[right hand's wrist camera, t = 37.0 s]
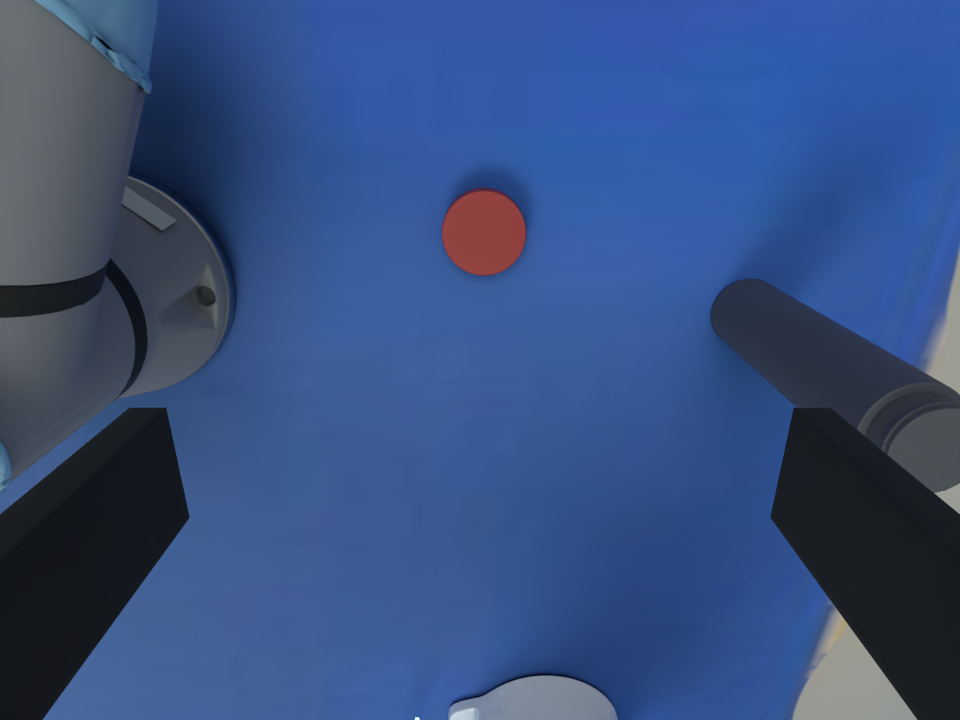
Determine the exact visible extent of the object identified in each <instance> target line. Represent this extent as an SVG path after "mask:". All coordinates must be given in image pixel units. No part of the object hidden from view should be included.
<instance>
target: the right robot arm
mask: <svg viewBox="0 0 960 720" xmlns="http://www.w3.org/2000/svg"><path fill="white" fill-rule="evenodd" d="M157 16H158V0H0V494H1V493H2V492H4V491H5V490H6V489H5V488H6V487H7V486H9V483H10V482H11V481H13V480H14V479H15V478H16V477H18V476H19V475H20V474H21V473H23V472H24V471H25V470H27V469H28V468H29V467H30V466H32V465H33V464H34V463H36V462H37V461H38V460H39V459H41V458H42V457H43V456H44V455H46V454H47V453H48V452H50V451H51V450H52V449H53V448H55V447H56V446H57V445H59V444H60V443H61V442H62V441H64V440H65V439H66V438H67V437H69V436H70V435H71V434H73V433H74V432H75V431H76V430H78V429H79V428H80V427H81V426H83V425H84V424H85V423H87V422H88V421H89V420H90V419H92V418H93V417H94V416H96V415H97V414H98V413H99V412H101V411H102V410H103V409H104V408H106V407H107V406H108V405H110V404H111V403H112V402H113V401H115V400H116V399H119V398H123V397H128V396H133V395H137V394H142V393H146V392H151V391H155V390H159V389H163V388H166V387H168V386H171V385H173V384H175V383H177V382H180V381H182V380H184V379H185V378H187V377H189V376H191V375H192V374H193V373H195V372H196V371H198V370H199V369H200V368H201V367H202V366H203V365H204V364H205V363H207V362H208V361H209V360H210V359H211V358H212V357H213V356H214V355H215V354H216V353H217V351H218V350H219V349H220V347H221V346H222V344H223V343H224V341H225V339H226V337H227V335H228V333H229V330H230V328H231V325H232V321H233V317H234V310H235V285H234V279H233V274H232V271H231V267H230V264H229V261H228V258H227V256H226V253H225V251H224V249H223V247H222V245H221V243H220V241H219V240H218V238H217V236H216V235H215V233H214V232H213V230H212V229H211V227H210V226H209V225H208V224H207V222H206V221H205V220H204V219H203V217H202V216H201V215H200V214H199V213H198V212H197V211H196V210H195V209H194V208H193V207H192V206H191V205H190V204H188V203H187V202H186V201H185V200H184V199H182V198H181V197H180V196H178V195H177V194H176V193H174V192H173V191H171V190H170V189H168V188H166V187H165V186H163V185H161V184H159V183H157V182H155V181H153V180H151V179H148V178H146V177H143V176H141V175H138V174H134V173H131V172H129V168H130V164H131V159H132V155H133V150H134V146H135V141H136V137H137V132H138V127H139V123H140V118H141V114H142V109H143V105H144V100H145V96H146V94H151V89H152V84H151V80H150V78H149V77H148V73H149V67H150V60H151V54H152V48H153V41H154V35H155V29H156V22H157ZM189 518H190V517H189V513H188V508H187V503H186V499H185V494H184V489H183V485H182V480H181V475H180V471H179V466H178V461H177V457H176V452H175V447H174V442H173V438H172V433H171V428H170V424H169V419H168V414H167V410H166V408H129V409H127V410H126V411H125V412H124V413H123V414H121V415H120V416H119V417H118V418H117V419H115V420H114V421H113V422H112V423H110V424H109V425H108V426H107V427H106V428H104V429H103V430H102V431H101V432H100V433H98V434H97V435H96V436H95V437H94V438H92V439H91V440H90V441H89V442H87V443H86V444H85V445H84V446H83V447H81V448H80V449H79V450H78V451H77V452H75V453H74V454H73V455H72V456H70V457H69V458H68V459H67V460H66V461H64V462H63V463H62V464H61V465H60V466H58V467H57V468H56V469H55V470H54V471H52V472H51V473H50V474H49V475H47V476H46V477H45V478H44V479H43V480H41V481H40V482H39V483H38V484H37V485H35V486H34V487H33V488H32V489H30V490H29V491H28V492H27V493H26V494H24V495H23V496H22V497H21V498H20V499H18V500H17V501H16V502H15V503H14V504H12V505H11V506H10V507H9V508H7V509H6V510H5V511H4V512H3V513H1V514H0V720H43V718H44V717H45V715H46V714H47V713H48V711H49V710H50V709H51V707H52V706H53V704H54V703H55V702H56V700H57V699H58V698H59V696H60V695H61V693H62V692H63V691H64V689H65V688H66V687H67V685H68V684H69V682H70V681H71V680H72V678H73V677H74V676H75V674H76V673H77V672H78V670H79V669H80V667H81V666H82V665H83V663H84V662H85V661H86V659H87V658H88V656H89V655H90V654H91V652H92V651H93V650H94V648H95V647H96V645H97V644H98V643H99V641H100V640H101V639H102V637H103V636H104V634H105V633H106V632H107V630H108V629H109V628H110V626H111V625H112V623H113V622H114V621H115V619H116V618H117V617H118V615H119V614H120V612H121V611H122V610H123V608H124V607H125V606H126V604H127V603H128V601H129V600H130V599H131V597H132V596H133V595H134V593H135V592H136V590H137V589H138V588H139V586H140V585H141V584H142V582H143V581H144V579H145V578H146V577H147V575H148V574H149V573H150V571H151V570H152V568H153V567H154V566H155V564H156V563H157V562H158V560H159V559H160V558H161V556H162V555H163V553H164V552H165V551H166V549H167V548H168V547H169V545H170V544H171V542H172V541H173V540H174V538H175V537H176V536H177V534H178V533H179V531H180V530H181V529H182V527H183V526H184V525H185V523H186V522H187V520H188V519H189ZM770 518H771V519H772V520H773V522H774V523H775V525H776V526H777V527H778V529H779V530H780V531H781V533H782V534H783V536H784V537H785V538H786V540H787V541H788V542H789V544H790V545H791V547H792V548H793V549H794V551H795V552H796V553H797V555H798V556H799V558H800V559H801V560H802V562H803V563H804V564H805V566H806V567H807V568H808V570H809V571H810V573H811V574H812V575H813V577H814V578H815V579H816V581H817V582H818V584H819V585H820V586H821V588H822V589H823V590H824V592H825V593H826V595H827V596H828V597H829V599H830V600H831V601H832V603H833V604H834V606H835V607H836V608H837V610H838V611H839V612H840V614H841V615H842V617H843V618H844V619H845V621H846V622H847V623H848V625H849V626H850V628H851V629H852V630H853V632H854V633H855V634H856V636H857V637H858V639H859V640H860V641H861V643H862V644H863V645H864V647H865V648H866V649H867V651H868V652H869V654H870V655H871V656H872V658H873V659H874V660H875V662H876V663H877V665H878V666H879V667H880V669H881V670H882V671H883V673H884V674H885V676H886V677H887V678H888V680H889V681H890V682H891V684H892V685H893V687H894V688H895V689H896V691H897V692H898V693H899V695H900V696H901V698H902V699H903V700H904V702H905V703H906V704H907V706H908V707H909V709H910V710H911V711H912V713H913V714H914V715H915V717H916V718H917V720H960V514H959V513H957V512H956V511H955V510H954V509H953V508H951V507H950V506H949V505H948V504H946V503H945V502H944V501H943V500H942V499H940V498H939V497H938V496H937V495H936V494H934V493H933V492H932V491H931V490H930V489H928V488H927V487H926V486H925V485H923V484H922V483H921V482H920V481H919V480H917V479H916V478H915V477H914V476H913V475H911V474H910V473H909V472H908V471H906V470H905V469H904V468H903V467H902V466H900V465H899V464H898V463H897V462H896V461H894V460H893V459H892V458H891V457H890V456H888V455H887V454H886V453H885V452H883V451H882V450H881V449H880V448H879V447H877V446H876V445H875V444H874V443H873V442H871V441H870V440H869V439H868V438H866V437H865V436H864V435H863V434H862V433H860V432H859V431H858V430H857V429H856V428H854V427H853V426H852V425H851V424H849V423H848V422H847V421H846V420H845V419H843V418H842V417H841V416H840V415H839V414H837V413H836V412H835V411H834V410H833V409H831V408H794V410H793V414H792V419H791V424H790V428H789V433H788V438H787V442H786V447H785V452H784V457H783V461H782V466H781V471H780V475H779V480H778V485H777V489H776V494H775V499H774V503H773V508H772V513H771V517H770Z"/></svg>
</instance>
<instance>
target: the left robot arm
mask: <svg viewBox="0 0 960 720" xmlns="http://www.w3.org/2000/svg"><path fill="white" fill-rule="evenodd" d="M415 720H419V718H417V717H416V718H415ZM448 720H618V717H617V714H616V711H615V709H614V707H613V706H612V704H611V703H610V701H609V700H608V699H607V698H606V697H605V696H604V695H603V694H602V693H601V692H599V691H598V690H597V689H595V688H593V687H592V686H590V685H588V684H586V683H583V682H581V681H578V680H575V679H571V678H566V677H560V676H532V677H526V678H521V679H517V680H514V681H511V682H508V683H506V684H504V685H501V686H500V687H498V688H496V689H494V690H493V691H491V692H489V693H487V694H485V695H483V696H481V697H478V698H473V699H468V700H464V701H460V702H457V703H455V704H453V705H452V706H451V707H450V709H449V714H448Z"/></svg>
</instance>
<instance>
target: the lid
mask: <svg viewBox="0 0 960 720" xmlns="http://www.w3.org/2000/svg"><path fill="white" fill-rule="evenodd" d="M442 239H443V244H444V247H445V250H446V252H447V254H448V255H449V257H450V258H451V260H452V261H453V262H454V263H455V264H456V265H457V266H458V267H460V268H461V269H463V270H465V271H467V272H469V273H472V274H476V275H492V274H496V273H499V272H501V271H503V270H505V269H507V268H508V267H510V266H511V265H512V264H513V263H514V262H515V261H516V260H517V258H518V257H519V256H520V254H521V252H522V250H523V248H524V244H525V240H526V226H525V222H524V218H523V216H522V214H521V211H520V209H519V208H518V206H517V205H516V203H515V202H514V201H513V200H512V199H511V198H510V197H509V196H507V195H506V194H504V193H503V192H501V191H498V190H495V189H491V188H477V189H473V190H470V191H467V192H465V193H464V194H462V195H460V196H459V197H458V198H457V199H456V200H455V201H454V202H453V203H452V204H451V206H450V207H449V209H448V211H447V214H446V216H445V219H444V222H443V227H442Z"/></svg>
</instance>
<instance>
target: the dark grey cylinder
mask: <svg viewBox="0 0 960 720" xmlns="http://www.w3.org/2000/svg"><path fill="white" fill-rule="evenodd" d="M711 323H712V327H713V329H714V331H715V332H716V334H717V335H718V336H719V337H720V338H721V339H722V340H723V341H724V342H726V343H727V344H728V345H729V346H730V347H731V348H732V349H733V350H734V351H735V352H737V353H738V354H739V355H740V356H741V357H742V358H743V359H744V360H745V361H746V362H748V363H749V364H750V365H751V366H752V367H753V368H754V369H755V370H756V371H757V372H759V373H760V374H761V375H762V376H763V377H764V378H765V379H766V380H767V381H768V382H769V383H771V384H772V385H773V386H774V387H775V388H776V389H777V390H778V391H779V392H780V393H782V394H783V395H784V396H785V397H786V398H787V399H788V400H789V401H790V402H791V403H793V404H794V405H795V406H796V407H797V408H831V409H833V410H834V411H835V412H836V413H837V414H839V415H840V416H841V417H842V418H843V419H845V420H846V421H847V422H848V423H849V424H851V425H852V426H853V427H854V428H856V429H857V430H858V431H859V432H860V433H862V434H863V435H864V436H865V437H866V438H868V439H869V440H870V441H871V442H873V443H874V444H875V445H876V446H877V447H879V448H880V449H881V450H882V451H883V452H885V453H886V454H887V455H888V456H890V457H891V458H892V459H893V460H894V461H896V462H897V463H898V464H899V465H900V466H902V467H903V468H904V469H905V470H906V471H908V472H909V473H910V474H911V475H913V476H914V477H915V478H916V479H917V480H919V481H920V482H921V483H922V484H923V485H925V486H926V487H927V488H928V489H930V490H931V491H932V492H933V493H935V492H940V491H945V490H947V489H949V488H951V487H953V486H955V485H957V484H959V483H960V395H959V394H958V393H957V392H956V391H954V390H953V389H951V388H950V387H948V386H946V385H945V384H943V383H941V382H939V381H938V380H936V379H934V378H932V377H931V376H929V375H927V374H925V373H924V372H922V371H920V370H918V369H917V368H915V367H913V366H911V365H910V364H908V363H906V362H904V361H903V360H901V359H899V358H897V357H896V356H894V355H892V354H890V353H889V352H887V351H885V350H883V349H882V348H880V347H878V346H876V345H875V344H873V343H871V342H869V341H868V340H866V339H864V338H863V337H861V336H859V335H857V334H856V333H854V332H852V331H850V330H849V329H847V328H845V327H843V326H842V325H840V324H838V323H836V322H835V321H833V320H831V319H829V318H828V317H826V316H824V315H822V314H821V313H819V312H817V311H815V310H814V309H812V308H810V307H808V306H807V305H805V304H803V303H801V302H800V301H798V300H796V299H794V298H793V297H791V296H789V295H787V294H786V293H784V292H782V291H780V290H779V289H777V288H775V287H773V286H772V285H770V284H768V283H766V282H764V281H762V280H758V279H744V280H740V281H737V282H735V283H733V284H731V285H729V286H728V287H726V288H725V289H724V290H723V291H722V292H721V293H720V294H719V295H718V297H717V298H716V300H715V302H714V304H713V307H712V310H711Z"/></svg>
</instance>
